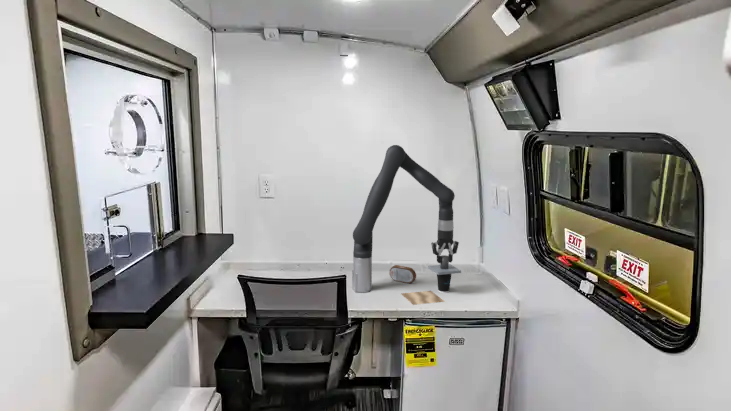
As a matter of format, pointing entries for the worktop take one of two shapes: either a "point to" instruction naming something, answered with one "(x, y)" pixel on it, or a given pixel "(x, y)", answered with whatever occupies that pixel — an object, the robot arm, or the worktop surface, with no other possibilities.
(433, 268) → the lid
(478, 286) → the worktop surface
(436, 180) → the robot arm
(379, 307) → the worktop surface
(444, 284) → the dixie cup
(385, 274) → the worktop surface
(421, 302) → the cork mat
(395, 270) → the tin
